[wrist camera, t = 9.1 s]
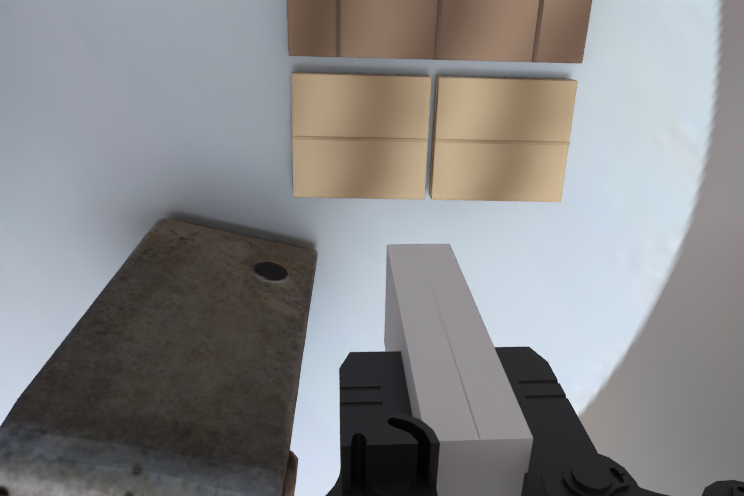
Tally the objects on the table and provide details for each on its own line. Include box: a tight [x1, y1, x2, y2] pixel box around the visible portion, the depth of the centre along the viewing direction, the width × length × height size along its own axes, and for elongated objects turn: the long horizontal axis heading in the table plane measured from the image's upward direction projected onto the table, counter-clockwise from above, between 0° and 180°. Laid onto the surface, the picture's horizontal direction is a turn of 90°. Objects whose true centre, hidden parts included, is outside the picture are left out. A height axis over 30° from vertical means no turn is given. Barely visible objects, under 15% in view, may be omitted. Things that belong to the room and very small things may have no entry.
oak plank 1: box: [291, 72, 432, 199], centre depth 32 cm, size 7×6×1 cm
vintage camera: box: [0, 218, 317, 496], centre depth 29 cm, size 10×15×20 cm, turn 165°
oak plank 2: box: [429, 76, 578, 202], centre depth 33 cm, size 7×6×1 cm
